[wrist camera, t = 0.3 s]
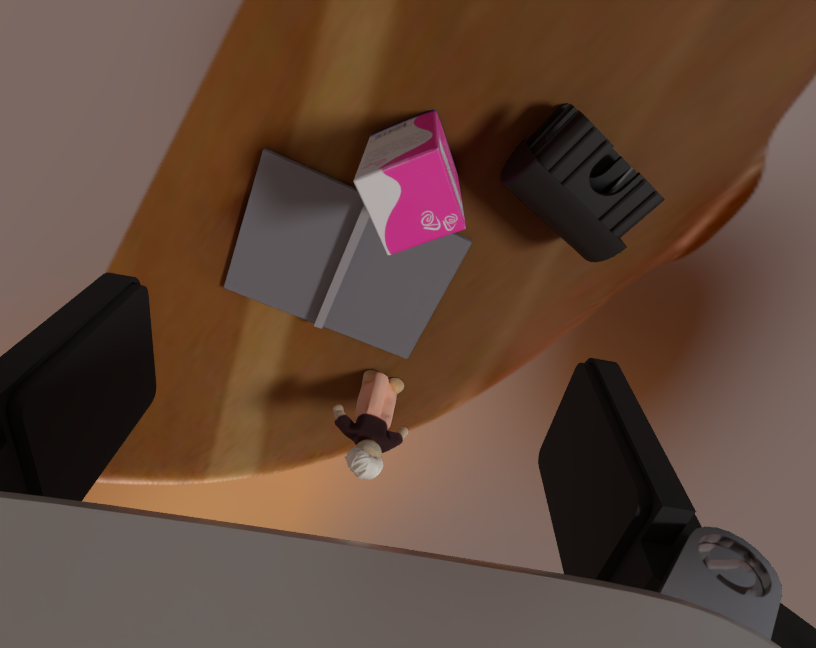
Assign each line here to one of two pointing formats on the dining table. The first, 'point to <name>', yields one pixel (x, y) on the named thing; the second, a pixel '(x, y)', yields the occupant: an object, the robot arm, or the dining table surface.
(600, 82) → the dining table surface
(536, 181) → the end cap
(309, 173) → the mat
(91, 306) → the robot arm
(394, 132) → the supplement box
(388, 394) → the grandmother figurine
